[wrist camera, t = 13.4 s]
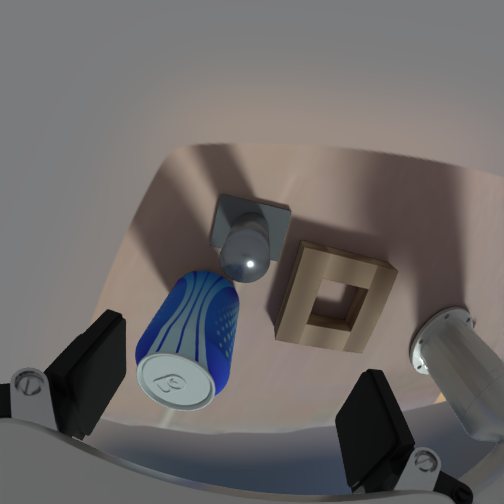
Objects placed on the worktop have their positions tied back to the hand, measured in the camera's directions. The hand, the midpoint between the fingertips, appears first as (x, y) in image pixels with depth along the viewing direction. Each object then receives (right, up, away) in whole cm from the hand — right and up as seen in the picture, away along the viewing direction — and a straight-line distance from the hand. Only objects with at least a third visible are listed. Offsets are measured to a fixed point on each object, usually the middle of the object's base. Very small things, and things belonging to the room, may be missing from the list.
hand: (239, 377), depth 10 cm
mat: (0, +7, +23) cm, 24 cm away
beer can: (-5, -1, +26) cm, 26 cm away
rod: (0, +7, +22) cm, 23 cm away
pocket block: (+11, -1, +25) cm, 27 cm away
